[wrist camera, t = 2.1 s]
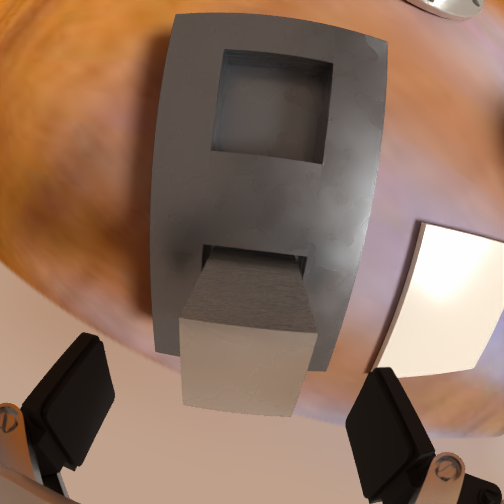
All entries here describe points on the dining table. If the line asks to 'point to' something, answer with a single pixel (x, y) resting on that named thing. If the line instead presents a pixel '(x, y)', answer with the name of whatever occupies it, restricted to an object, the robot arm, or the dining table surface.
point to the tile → (445, 304)
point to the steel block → (246, 334)
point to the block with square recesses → (265, 157)
